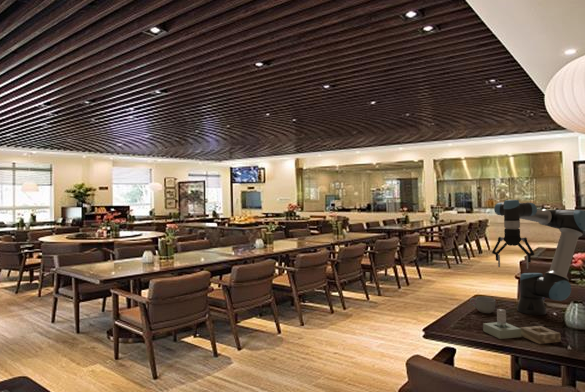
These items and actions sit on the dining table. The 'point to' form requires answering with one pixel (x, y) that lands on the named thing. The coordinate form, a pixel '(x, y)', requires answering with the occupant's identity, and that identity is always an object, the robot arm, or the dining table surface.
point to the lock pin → (501, 318)
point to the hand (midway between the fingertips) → (513, 267)
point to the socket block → (502, 330)
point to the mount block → (540, 334)
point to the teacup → (484, 304)
